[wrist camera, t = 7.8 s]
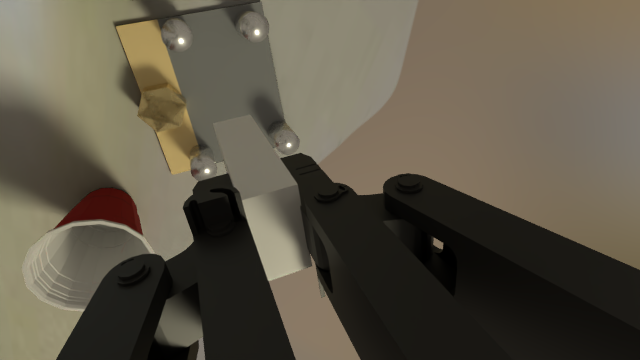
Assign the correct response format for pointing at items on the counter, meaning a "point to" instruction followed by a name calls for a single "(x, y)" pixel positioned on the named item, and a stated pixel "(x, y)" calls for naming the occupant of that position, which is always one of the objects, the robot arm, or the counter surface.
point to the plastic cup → (84, 249)
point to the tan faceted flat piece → (162, 107)
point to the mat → (206, 77)
